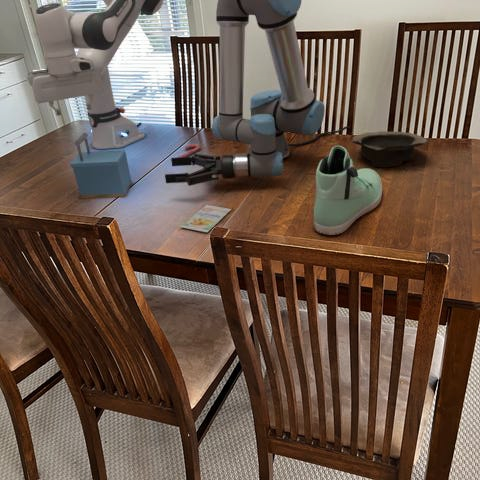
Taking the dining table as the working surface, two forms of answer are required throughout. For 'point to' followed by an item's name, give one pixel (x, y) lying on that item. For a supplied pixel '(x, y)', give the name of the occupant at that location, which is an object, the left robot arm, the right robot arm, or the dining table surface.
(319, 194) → the sneaker
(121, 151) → the lid
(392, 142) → the stone bowl
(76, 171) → the chest
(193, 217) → the baking ingredient package
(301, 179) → the dining table surface
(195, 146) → the candy cane
